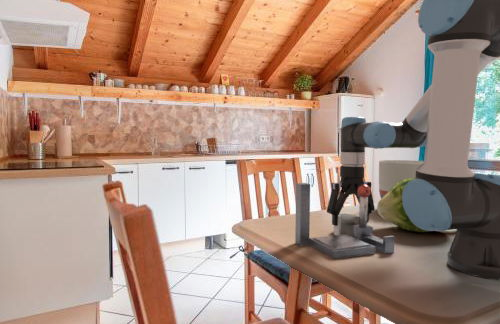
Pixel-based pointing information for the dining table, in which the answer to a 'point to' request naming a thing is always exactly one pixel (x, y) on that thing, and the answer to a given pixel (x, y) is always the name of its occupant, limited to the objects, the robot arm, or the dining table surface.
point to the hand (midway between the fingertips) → (350, 233)
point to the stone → (348, 223)
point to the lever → (363, 211)
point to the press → (340, 243)
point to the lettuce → (396, 208)
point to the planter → (395, 173)
